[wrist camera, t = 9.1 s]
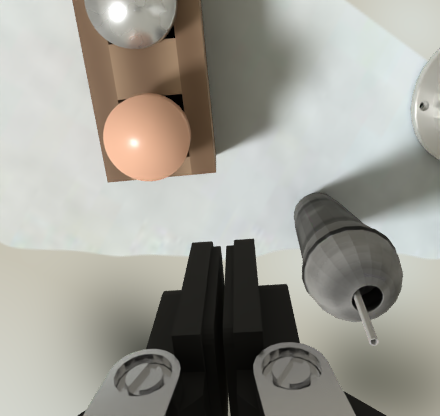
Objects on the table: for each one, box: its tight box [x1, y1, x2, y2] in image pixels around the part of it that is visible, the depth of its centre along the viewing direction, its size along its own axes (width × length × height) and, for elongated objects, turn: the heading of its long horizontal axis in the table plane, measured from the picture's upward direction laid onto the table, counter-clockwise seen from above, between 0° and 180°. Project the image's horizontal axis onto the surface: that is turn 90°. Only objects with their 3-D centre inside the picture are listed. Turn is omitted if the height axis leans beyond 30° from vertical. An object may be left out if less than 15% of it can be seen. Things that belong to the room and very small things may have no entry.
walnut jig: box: [72, 0, 216, 182], centre depth 35 cm, size 9×17×6 cm, turn 5°
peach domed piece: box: [103, 93, 191, 181], centre depth 33 cm, size 6×6×8 cm
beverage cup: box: [294, 193, 403, 346], centre depth 33 cm, size 7×7×20 cm
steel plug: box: [84, 0, 178, 49], centre depth 31 cm, size 6×6×8 cm
